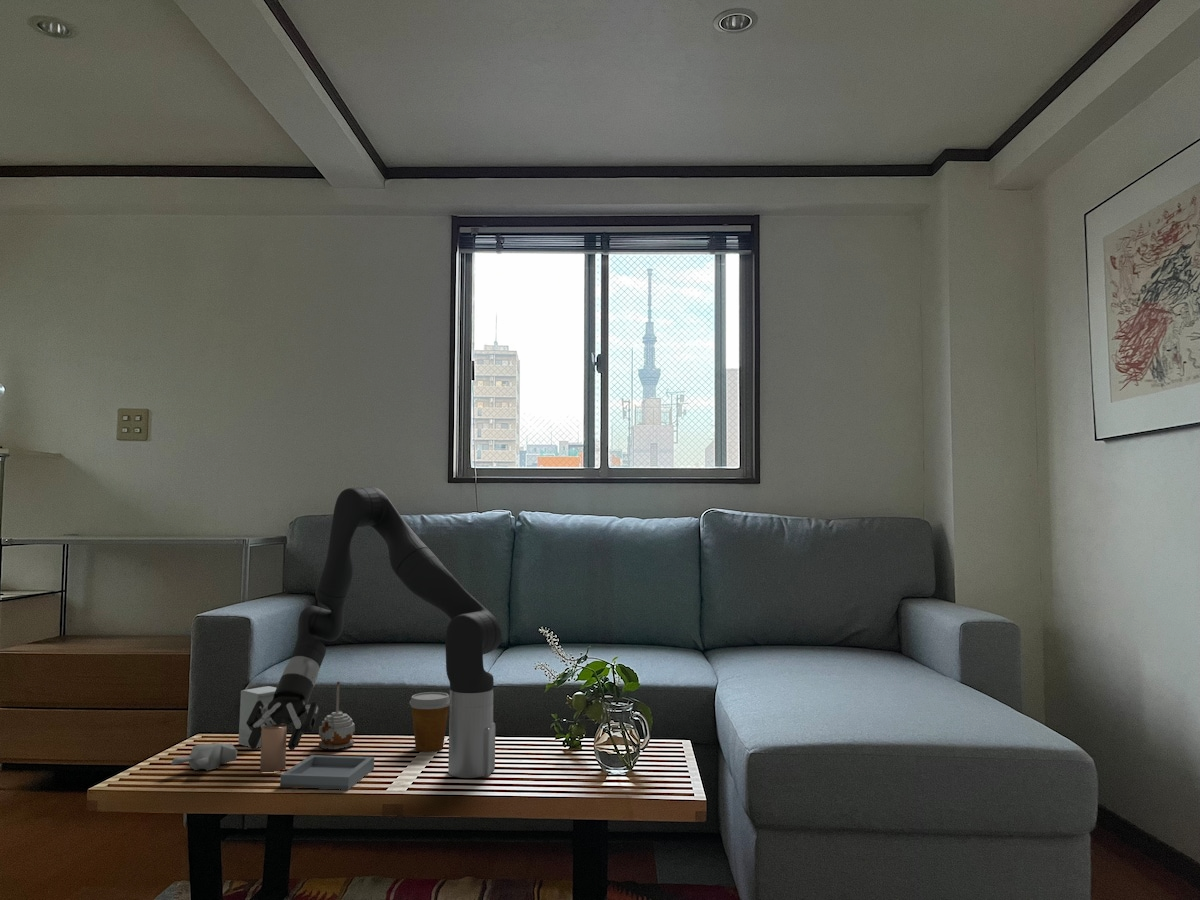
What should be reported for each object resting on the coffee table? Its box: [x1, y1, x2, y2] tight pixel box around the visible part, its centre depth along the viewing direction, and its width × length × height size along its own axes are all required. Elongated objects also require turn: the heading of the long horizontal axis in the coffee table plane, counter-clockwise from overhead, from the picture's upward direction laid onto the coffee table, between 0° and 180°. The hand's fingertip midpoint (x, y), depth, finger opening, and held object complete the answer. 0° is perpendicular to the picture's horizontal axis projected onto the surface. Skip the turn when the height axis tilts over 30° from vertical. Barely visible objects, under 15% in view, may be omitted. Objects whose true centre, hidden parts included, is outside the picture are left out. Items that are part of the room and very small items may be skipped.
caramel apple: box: [318, 680, 356, 750], centre depth 196 cm, size 8×8×15 cm
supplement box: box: [238, 685, 277, 749], centre depth 199 cm, size 7×7×13 cm
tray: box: [279, 754, 375, 791], centre depth 172 cm, size 14×14×2 cm
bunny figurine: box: [170, 742, 238, 772], centre depth 179 cm, size 10×5×15 cm
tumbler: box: [259, 723, 288, 773], centre depth 178 cm, size 5×5×9 cm
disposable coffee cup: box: [409, 691, 450, 753], centre depth 195 cm, size 10×10×12 cm
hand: (271, 747), depth 177 cm, fingers open, 8 cm apart
